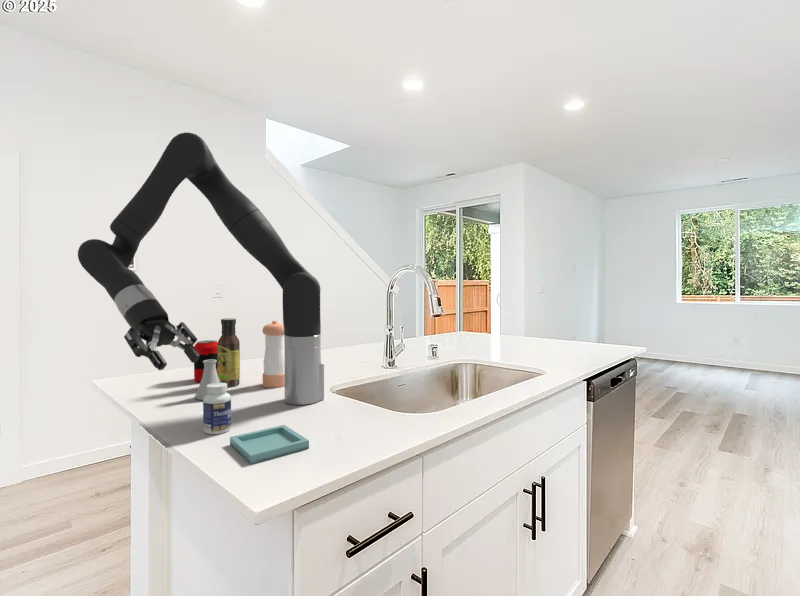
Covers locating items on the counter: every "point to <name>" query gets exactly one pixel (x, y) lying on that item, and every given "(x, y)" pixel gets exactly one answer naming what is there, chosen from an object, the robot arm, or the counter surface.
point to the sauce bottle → (228, 354)
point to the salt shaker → (274, 355)
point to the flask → (207, 378)
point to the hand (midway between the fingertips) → (180, 363)
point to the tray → (268, 443)
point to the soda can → (204, 356)
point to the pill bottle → (217, 409)
